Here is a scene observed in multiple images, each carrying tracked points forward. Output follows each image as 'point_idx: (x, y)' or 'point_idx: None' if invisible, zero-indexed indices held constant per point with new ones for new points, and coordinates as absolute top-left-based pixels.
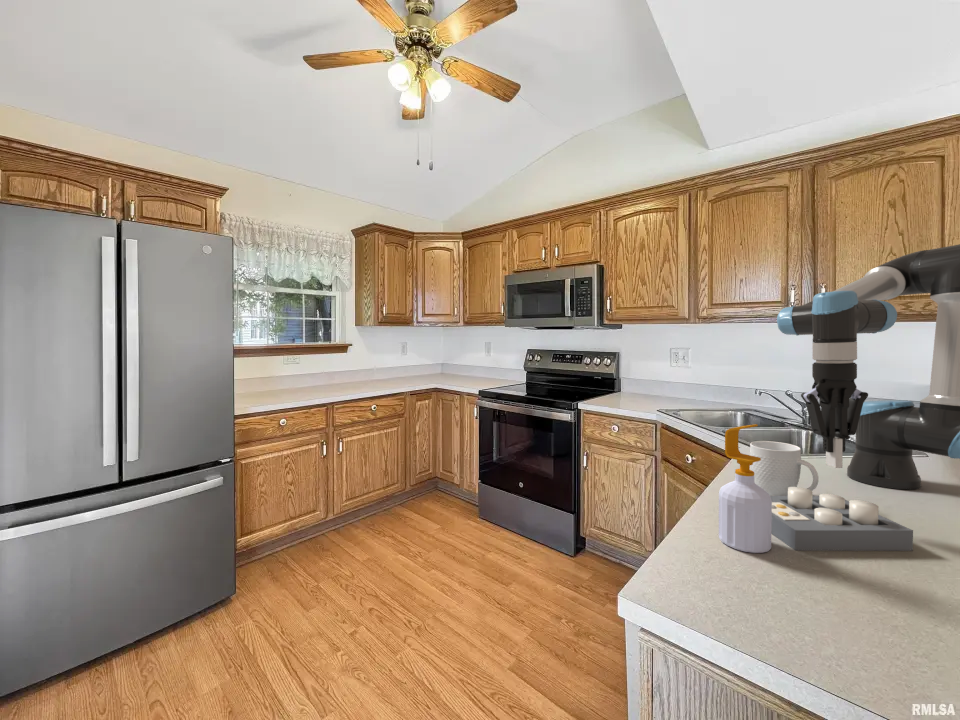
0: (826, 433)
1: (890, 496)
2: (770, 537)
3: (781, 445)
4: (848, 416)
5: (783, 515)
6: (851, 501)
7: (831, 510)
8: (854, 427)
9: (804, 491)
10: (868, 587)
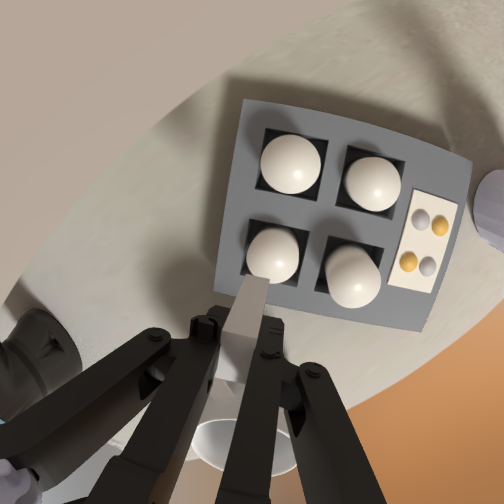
0: (300, 369)
1: (77, 302)
2: (499, 174)
3: (205, 452)
4: (116, 414)
5: (446, 220)
6: (304, 185)
7: (359, 189)
8: (136, 349)
9: (353, 274)
10: (438, 51)
